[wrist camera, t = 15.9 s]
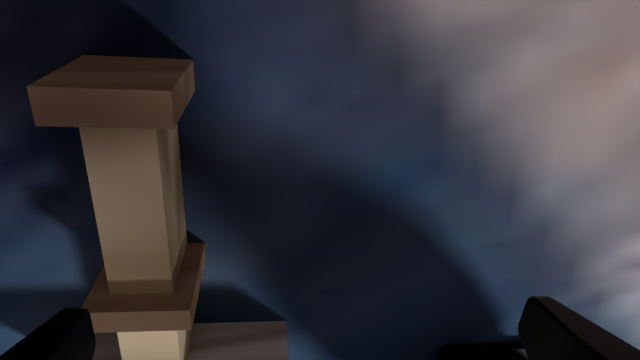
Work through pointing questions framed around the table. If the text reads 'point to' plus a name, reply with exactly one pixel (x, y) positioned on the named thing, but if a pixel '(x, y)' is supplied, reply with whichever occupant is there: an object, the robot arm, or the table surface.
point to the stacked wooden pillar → (143, 211)
